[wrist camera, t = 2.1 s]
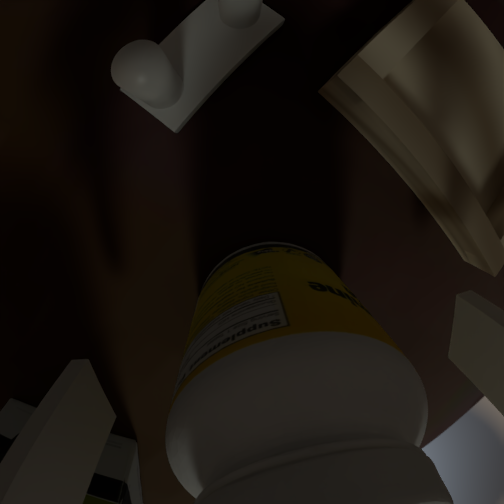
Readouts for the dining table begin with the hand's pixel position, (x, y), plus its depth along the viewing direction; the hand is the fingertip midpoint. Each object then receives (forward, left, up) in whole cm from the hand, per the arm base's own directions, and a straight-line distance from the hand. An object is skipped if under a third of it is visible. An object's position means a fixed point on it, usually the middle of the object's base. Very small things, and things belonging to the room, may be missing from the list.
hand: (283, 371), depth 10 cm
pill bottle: (0, 0, -5) cm, 5 cm away
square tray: (-8, +11, -4) cm, 14 cm away
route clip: (-11, -1, -4) cm, 12 cm away
